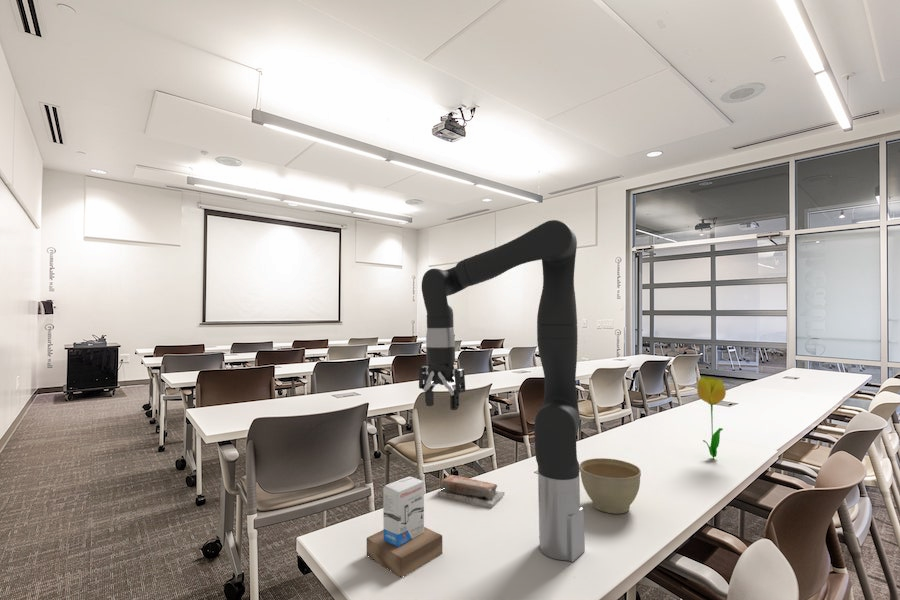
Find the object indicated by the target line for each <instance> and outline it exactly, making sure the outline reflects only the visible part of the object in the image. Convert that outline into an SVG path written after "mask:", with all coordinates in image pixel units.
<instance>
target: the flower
mask: <svg viewBox="0 0 900 600" xmlns="http://www.w3.org/2000/svg"><path fill="white" fill-rule="evenodd" d="M696 386H697V387H696V391H697V396H698V398H699V399H700V400H702V401H704V402H706V403H707V404H708V405H710V417H711V422H710V423H711V438H710V439H711V441H710V445H709V444H708V442H707V441H706V440H705V439H703V440H702V442H703V443H705V444H706V446H707V447H708V451H709V454H710V456H711V457H712V459H713V460H714V459H715V458H717V455H718V451H717V450H718V447H719V444H720V440H721V439H720V435H721V431H723V430H724V428H721V427H719V428H718V429H717V430H716V431H715V432H714V430H713V429H714V428H713V425H714V424H713V418H714V417H713V416H714V415H713V410H714V408H713V407H714V406H713V405H717V404H719V403H720V402H722V401H724V399H725V398H726V394H727V390H726V388H725V386H724V382H723V379H717V378H716V377H712V376H708V377H706V376H700V378H699V379H698V381H697V385H696ZM713 432H714V433H713Z"/></svg>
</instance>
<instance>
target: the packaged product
mask: <svg viewBox="0 0 900 600" xmlns="http://www.w3.org/2000/svg"><path fill="white" fill-rule="evenodd" d="M443 488H445V489H443ZM497 488H498V484H496V483H492V482H488V481H482V480H477V479H473V478H469V477H463V476H459V475H453V474H449V475H448V476H447V477H445V478H444V479H442V480H441V481H440V490H441V489H443V490H441V491H440V490H439V491H438V492H437V494H436V495H437V497H439V498H443V499H448V500H451V501H455V502H460V501H461V503H464V502H465V504H469V503H470V505H473V504H474V505H475V506H478V505H479V507H483V506H484V508H488V507H489V508H490V509H493V508H494V507H495V506H496V505H497V504H498V503H499V502H500V501H501V500H502V499H503V498H504V497H505V492H503V491H499V490H497ZM503 496H504V497H503ZM497 502H498V503H497Z"/></svg>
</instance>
